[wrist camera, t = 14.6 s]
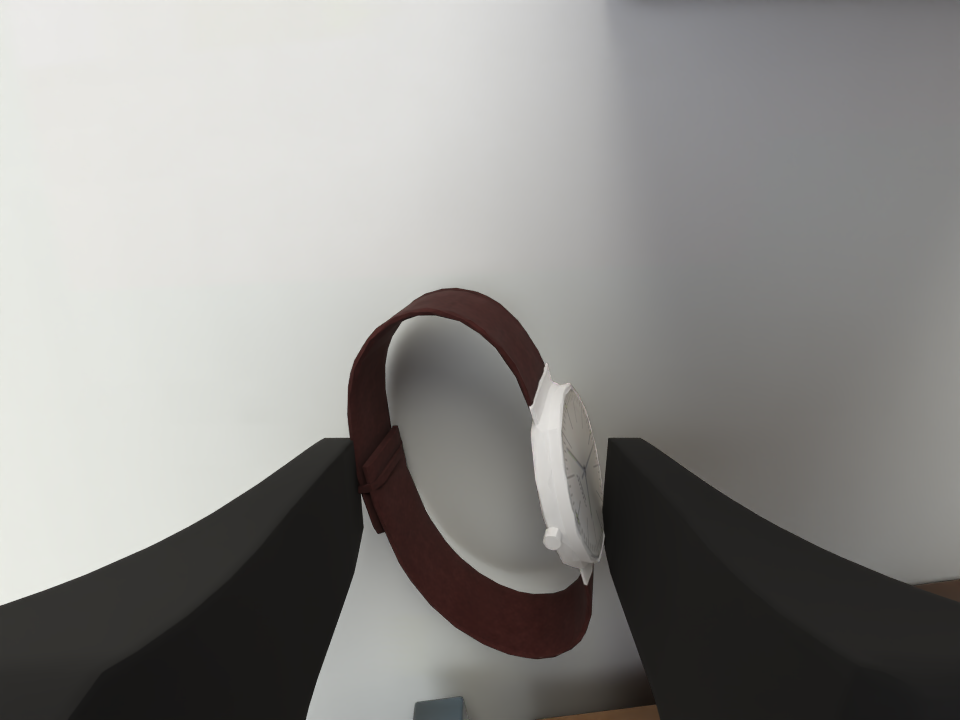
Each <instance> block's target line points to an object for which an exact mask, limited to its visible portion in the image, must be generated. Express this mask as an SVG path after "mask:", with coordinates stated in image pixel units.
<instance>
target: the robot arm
mask: <svg viewBox="0 0 960 720" xmlns="http://www.w3.org/2000/svg"><path fill="white" fill-rule="evenodd" d="M602 513H603V523H604V535H605V537H604V546H605V551H606V556H607V560H608V565H609V569H610V573H611V576H612V579H613V582H614V585H615V588H616V591H617V594H618V596H619V599H620V602H621V605H622V608H623V611H624V613H625V616H626V619H627V622H628V625H629V627H630V630H631V633H632V636H633V639H634V641H635V644H636V647H637V650H638V652H639V655H640V658H641V661H642V664H643V666H644V669H645V672H646V675H647V678H648V680H649V683H650V687H651V690H652V693H653V696H654V699H655V703H656V706H657V709H658V713H659V717H660V720H960V602H957V601H955V600H952V599H949V598H946V597H943V596H940V595H937V594H934V593H931V592H928V591H925V590H922V589H920V588H917V587H914V586H912V585H909V584H906V583H904V582H901V581H898V580H896V579H893V578H890V577H888V576H885V575H883V574H880V573H878V572H876V571H873V570H871V569H868V568H866V567H864V566H861V565H859V564H856V563H854V562H852V561H849V560H847V559H844V558H842V557H840V556H838V555H835V554H833V553H831V552H829V551H827V550H824V549H822V548H820V547H818V546H816V545H814V544H812V543H810V542H808V541H806V540H804V539H802V538H800V537H798V536H796V535H794V534H792V533H790V532H788V531H786V530H784V529H782V528H780V527H778V526H776V525H775V524H773V523H771V522H769V521H767V520H766V519H764V518H762V517H760V516H759V515H757V514H755V513H754V512H752V511H750V510H749V509H747V508H745V507H744V506H742V505H740V504H739V503H737V502H735V501H734V500H732V499H730V498H729V497H727V496H726V495H724V494H723V493H721V492H719V491H718V490H716V489H715V488H713V487H712V486H710V485H709V484H707V483H706V482H704V481H703V480H701V479H700V478H698V477H697V476H696V475H694V474H693V473H691V472H690V471H688V470H687V469H685V468H684V467H683V466H681V465H680V464H678V463H677V462H676V461H674V460H673V459H671V458H670V457H668V456H667V455H666V454H664V453H663V452H661V451H660V450H658V449H657V448H656V447H654V446H653V445H651V444H650V443H648V442H646V441H645V440H643V439H641V438H608V449H607V460H606V472H605V483H604V495H603V506H602ZM362 532H363V515H362V503H361V494H358V479H357V471H356V461H355V452H354V443H353V441H352V440H350V438H324V439H322V440H320V441H319V442H317V443H315V444H314V445H313V446H311V447H310V448H308V449H307V450H305V451H304V452H303V453H301V454H300V455H298V456H297V457H296V458H294V459H293V460H291V461H290V462H289V463H287V464H286V465H284V466H283V467H282V468H280V469H279V470H277V471H276V472H274V473H273V474H272V475H270V476H269V477H267V478H266V479H265V480H263V481H262V482H260V483H259V484H257V485H256V486H254V487H253V488H251V489H250V490H248V491H246V492H245V493H243V494H242V495H240V496H239V497H237V498H236V499H234V500H232V501H231V502H229V503H228V504H226V505H225V506H223V507H221V508H220V509H218V510H217V511H215V512H214V513H212V514H210V515H208V516H207V517H205V518H203V519H201V520H200V521H198V522H196V523H194V524H193V525H191V526H189V527H187V528H185V529H183V530H181V531H179V532H177V533H176V534H174V535H172V536H170V537H168V538H166V539H164V540H162V541H160V542H158V543H156V544H154V545H152V546H150V547H148V548H146V549H143V550H141V551H139V552H136V553H134V554H132V555H130V556H127V557H125V558H123V559H121V560H118V561H116V562H114V563H111V564H109V565H107V566H105V567H102V568H100V569H98V570H95V571H93V572H91V573H89V574H86V575H84V576H81V577H79V578H76V579H73V580H71V581H68V582H66V583H63V584H60V585H58V586H55V587H52V588H50V589H47V590H44V591H42V592H39V593H36V594H33V595H30V596H27V597H24V598H21V599H19V600H16V601H13V602H10V603H7V604H4V605H1V606H0V720H306V716H307V712H308V708H309V705H310V701H311V698H312V695H313V692H314V688H315V685H316V682H317V679H318V676H319V673H320V670H321V667H322V664H323V662H324V659H325V656H326V653H327V650H328V647H329V644H330V642H331V639H332V636H333V633H334V630H335V627H336V625H337V622H338V619H339V616H340V613H341V610H342V607H343V604H344V602H345V599H346V596H347V593H348V590H349V587H350V584H351V581H352V578H353V575H354V571H355V567H356V562H357V557H358V553H359V548H360V543H361V537H362Z"/></svg>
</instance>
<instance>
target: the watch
mask: <svg viewBox="0 0 960 720" xmlns="http://www.w3.org/2000/svg"><path fill="white" fill-rule="evenodd" d="M423 315H436V316H440V317H445V318H449V319H453V320H457V321H460V322H462V323H463V324H465V325H467V326H468V327H470V328H471V329H473V330H475V331H476V332H478V333H479V334H481V335H482V336H483V337H484V338H485V339H486V340H487V341H488V342H490V343H491V344H492V345H493V346H494V347H495V348H496V349H497V351H498V352H499V354H500V355H501V356H502V358H503V359H504V361H505V362H506V364H507V365H508V366H509V368H510V369H511V371H512V372H513V374H514V375H515V377H516V379H517V381H518V383H519V386H520V388H521V391H522V393H523V395H524V398H525V400H526V403H527V405H528V407H529V410H530V412H531V415H532V426H531V443H532V452H533V462H534V472H535V480H536V485H537V491H538V496H539V501H540V507H541V512H542V516H543V519H544V522H545V525H546V527H547V529H546V531H545V535H544V539H543V544H544V545H545V546H546V548H547V549H551V550H556V551H557V553H558V555H559V557H560V559H561V561H562V562H563V563H564V564H566V565H569V566H571V567H574V568H579V569H580V573H581V574H580V576H579V578H578V579H577V580H576V581H575V582H574V583H572V584H571V585H570V586H569V587H568V588H567V589H565V590H563V591H559V592H556V593H549V594H530V593H524V592H519V591H516V590H513V589H510V588H508V587H505V586H502V585H500V584H498V583H496V582H494V581H493V580H491V579H489V578H487V577H486V576H484V575H482V574H480V573H479V572H478V571H476V570H475V569H474V568H473V567H471V566H470V565H469V564H468V563H467V562H465V561H464V560H463V559H462V558H460V557H459V555H458V554H457V553H456V552H455V551H454V550H453V549H452V548H451V547H450V546H449V545H448V543H447V542H446V541H445V539H444V538H443V537H442V535H441V534H440V532H439V531H438V529H437V528H436V526H435V525H434V524H433V522H432V521H431V519H430V517H429V515H428V514H427V512H426V510H425V508H424V505H423V503H422V501H421V498H420V496H419V494H418V491H417V489H416V487H415V484H414V482H413V479H412V477H411V475H410V472H409V470H408V468H407V465H406V459H405V454H404V450H403V446H402V441H401V438H400V433H399V429H398V426H392V428H391V423H390V416H389V410H388V403H387V396H386V390H385V363H386V357H387V351H388V347H389V344H390V342H391V339H392V336H393V335H394V333H395V332H396V330H397V328H398V327H399V325H400V324H401V322H402V321H404V320H406V319H409V318H412V317H415V316H423ZM347 416H348V426H349V434H350V440H352V441H353V443H354V452H355V461H356V471H357V479H358V494H362V497H363V500H364V503H365V505H366V508H367V511H368V514H369V516H370V519H371V522H372V525H373V527H374V529H375V530H376V532H377V533H378V534H380V533H384V532H385V533H386V535H387V537H388V540H389V542H390V544H391V546H392V549H393V551H394V553H395V555H396V557H397V559H398V562H399V563H400V565H401V567H402V568H403V570H404V571H405V573H406V574H407V576H408V577H409V579H410V580H411V582H412V583H413V584H414V585H415V587H416V588H417V589H418V590H419V592H420V593H421V594H422V595H423V596H424V598H425V599H426V600H427V601H428V603H429V604H430V605H431V606H432V607H433V608H434V609H435V610H437V611H438V612H439V613H440V614H441V615H442V616H443V617H444V618H446V619H447V620H448V621H449V622H450V623H451V624H452V625H453V626H455V627H456V628H458V629H459V630H461V631H463V632H464V633H466V634H467V635H469V636H471V637H472V638H474V639H475V640H477V641H479V642H481V643H482V644H484V645H486V646H489V647H491V648H494V649H496V650H499V651H501V652H504V653H506V654H509V655H515V656H520V657H525V658H531V659H543V658H551V657H556V656H558V655H560V654H562V653H564V652H567V651H569V650H571V649H572V648H573V647H574V646H576V645H577V644H578V643H579V642H580V641H581V640H582V638H583V636H584V635H585V633H586V630H587V628H588V624H589V621H590V618H591V615H592V594H593V568H594V563H599V562H600V559H601V554H602V550H603V545H604V537H605V535H604V523H603V513H602V506H603V487H602V479H601V472H600V466H599V460H598V454H597V448H596V444H595V440H594V437H593V433H592V429H591V425H590V421H589V417H588V414H587V412H586V409H585V406H584V404H583V402H582V400H581V398H580V396H579V394H578V393H577V392H576V390H575V389H574V388H573V386H572V385H571V384H570V383H566V384H563V385H559V384H558V383H556V382H553V381H552V379H551V375H550V371H549V367H548V363H546V364H544V362H543V360H542V358H541V356H540V353H539V351H538V349H537V348H536V346H535V345H534V343H533V342H532V340H531V338H530V337H529V335H528V334H527V332H526V331H525V329H524V328H523V327H522V325H521V324H520V323H519V321H518V320H517V319H516V318H515V317H514V316H513V315H512V314H511V313H510V312H508V311H507V310H506V309H505V308H504V307H503V306H502V305H501V304H500V303H498V302H496V301H495V300H493V299H491V298H490V297H488V296H486V295H483V294H481V293H479V292H476V291H471V290H465V289H460V288H447V289H440V290H436V291H433V292H430V293H426V294H424V295H422V296H421V297H419V298H417V299H416V300H414V301H413V302H412V303H411V304H409V305H408V306H407V307H405V308H404V309H402V310H401V311H400V312H398V313H397V314H396V315H394V316H393V317H392V318H390V319H389V320H388V321H386V322H385V323H383V324H382V325H380V326H379V327H378V328H376V329H375V330H374V332H373V333H372V334H371V335H370V336H369V338H368V339H367V340H366V342H365V343H364V345H363V347H362V348H361V350H360V352H359V353H358V355H357V357H356V358H355V360H354V363H353V366H352V369H351V372H350V378H349V384H348V408H347Z"/></svg>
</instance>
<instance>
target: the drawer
mask: <svg viewBox="0 0 960 720" xmlns="http://www.w3.org/2000/svg"><path fill="white" fill-rule="evenodd" d="M413 720H469V719H468V715H467V711H466V707H465V703H464V699H463V697H461V696H459V697H452V698H444V699H436V700H429V701H421V702H416V703H415V707H414V716H413ZM537 720H660V717H659V713H658V709H657V706H656V704H655V705H647V706H640V707H632V708H624V709H616V710H608V711H600V712H592V713H584V714H576V715H568V716H560V717H553V718H545V719H537Z"/></svg>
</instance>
